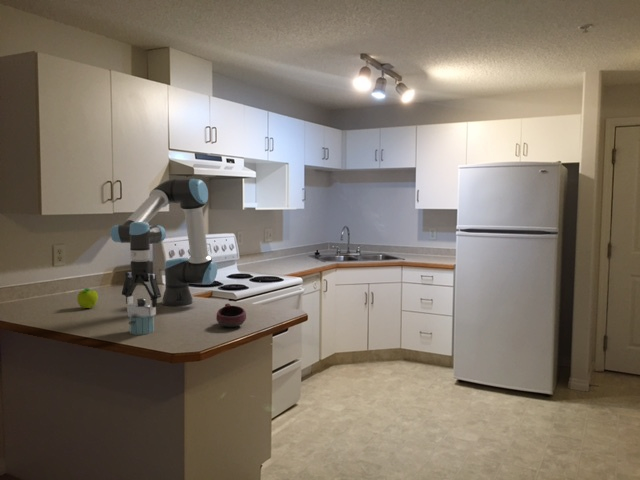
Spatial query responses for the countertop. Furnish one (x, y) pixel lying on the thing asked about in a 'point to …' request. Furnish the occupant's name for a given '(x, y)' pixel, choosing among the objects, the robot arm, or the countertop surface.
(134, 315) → the lid
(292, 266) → the countertop surface
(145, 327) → the pot
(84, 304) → the fruit
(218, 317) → the bowl
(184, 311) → the countertop surface
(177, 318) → the countertop surface
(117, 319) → the countertop surface
